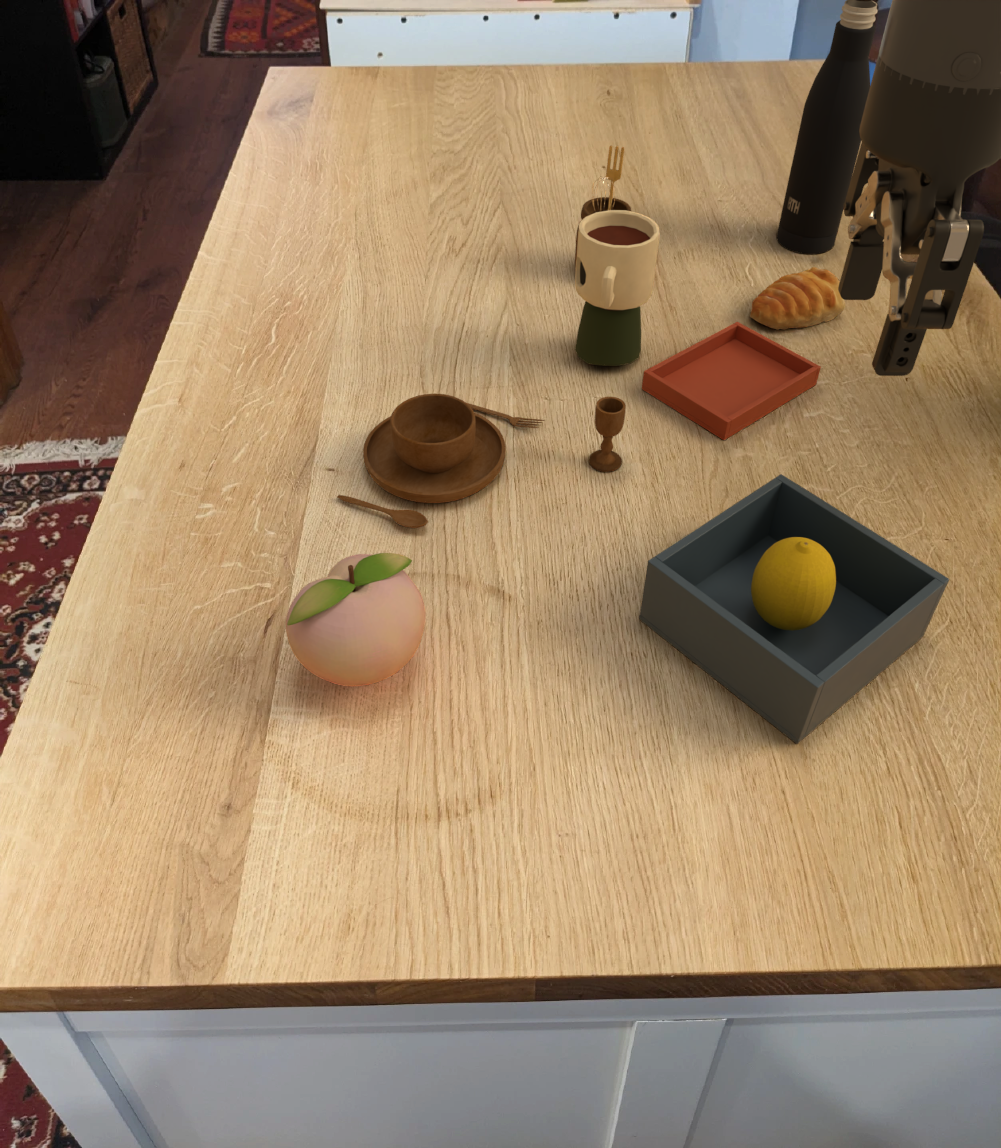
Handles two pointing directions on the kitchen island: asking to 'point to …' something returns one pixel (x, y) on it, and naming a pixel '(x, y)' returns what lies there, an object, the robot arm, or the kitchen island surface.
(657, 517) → the kitchen island surface
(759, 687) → the bin
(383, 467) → the place setting
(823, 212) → the black water bottle
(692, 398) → the tray
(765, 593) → the lemon
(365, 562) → the decorative fruit
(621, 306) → the character mug
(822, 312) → the pastry
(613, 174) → the utensil holder
